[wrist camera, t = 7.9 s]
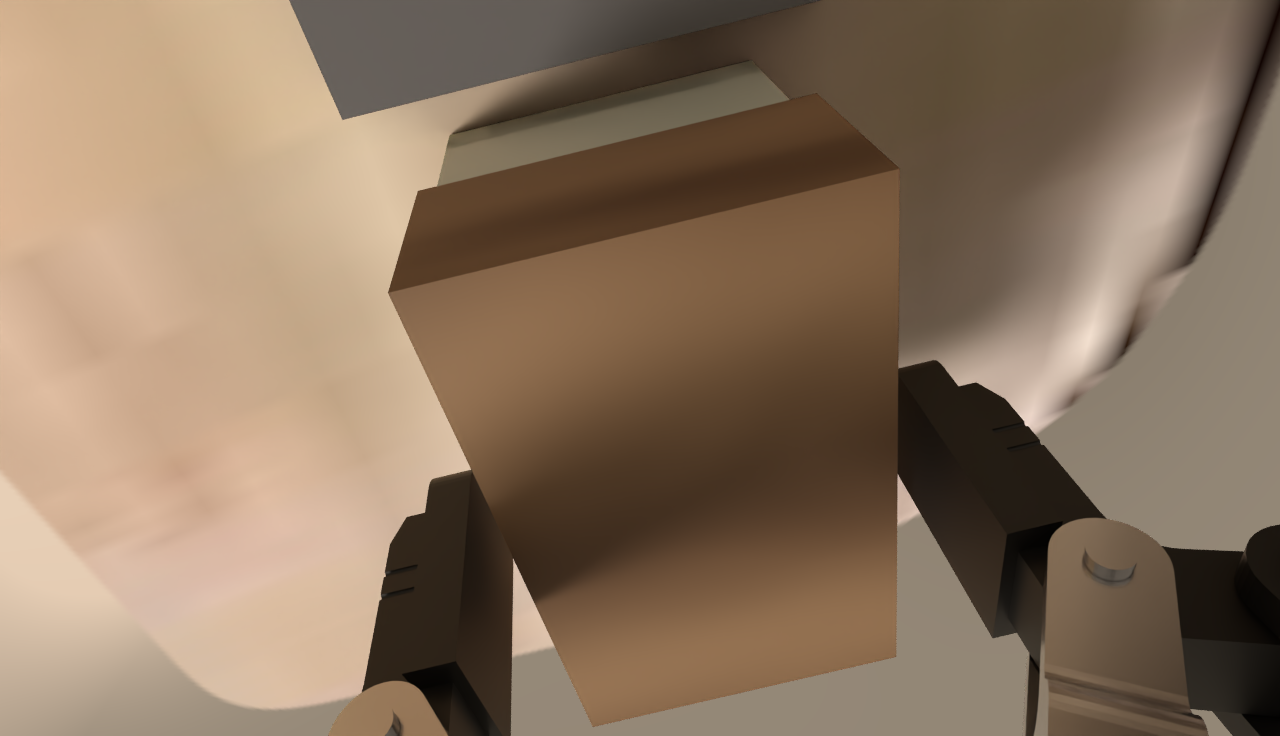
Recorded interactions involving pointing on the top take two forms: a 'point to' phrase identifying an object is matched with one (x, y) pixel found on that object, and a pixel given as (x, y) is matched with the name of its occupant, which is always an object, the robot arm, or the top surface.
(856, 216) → the lid
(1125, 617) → the robot arm
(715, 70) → the dish
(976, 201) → the top surface
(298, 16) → the mat
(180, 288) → the top surface
